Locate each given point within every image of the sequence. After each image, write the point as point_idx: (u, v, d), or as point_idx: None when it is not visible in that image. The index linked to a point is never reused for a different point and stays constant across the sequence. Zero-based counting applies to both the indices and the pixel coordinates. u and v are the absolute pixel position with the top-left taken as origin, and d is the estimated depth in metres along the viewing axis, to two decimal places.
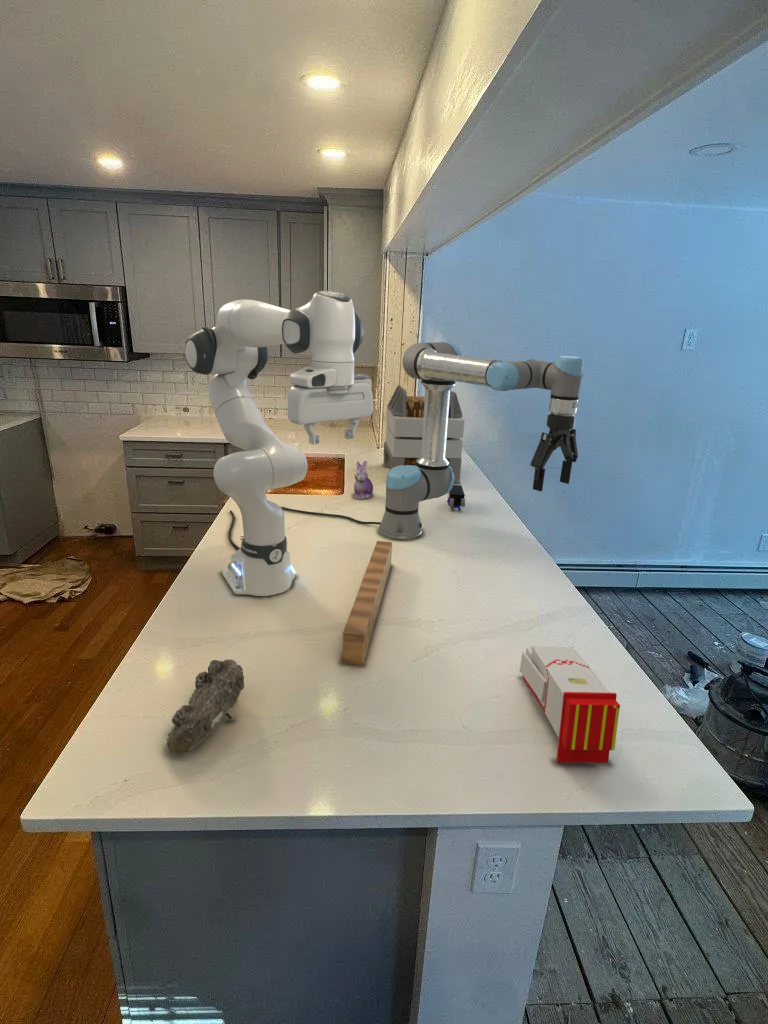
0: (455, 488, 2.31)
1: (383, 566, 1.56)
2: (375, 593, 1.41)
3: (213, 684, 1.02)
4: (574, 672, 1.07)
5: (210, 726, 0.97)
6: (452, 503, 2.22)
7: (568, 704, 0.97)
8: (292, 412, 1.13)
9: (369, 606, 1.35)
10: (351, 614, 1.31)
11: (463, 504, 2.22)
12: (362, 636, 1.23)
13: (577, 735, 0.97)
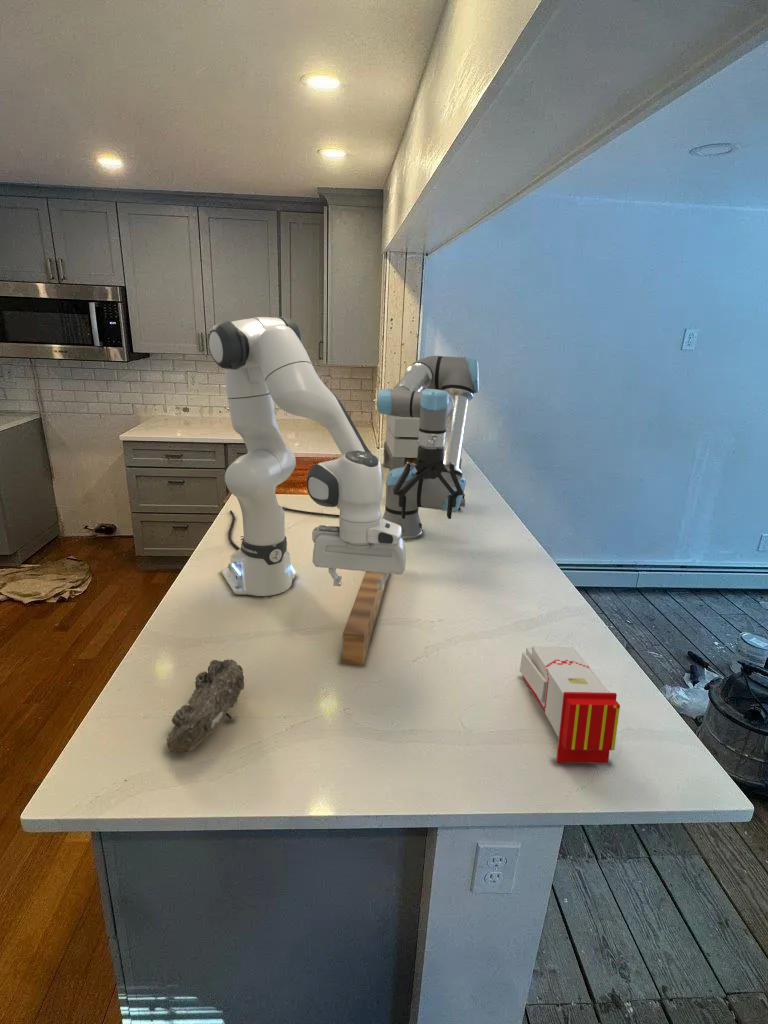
0: None
1: None
2: (375, 593, 1.41)
3: (213, 684, 1.02)
4: (574, 672, 1.07)
5: (210, 726, 0.97)
6: None
7: (568, 704, 0.97)
8: (405, 561, 1.21)
9: (369, 606, 1.35)
10: (351, 614, 1.31)
11: (463, 504, 2.22)
12: (362, 636, 1.23)
13: (577, 735, 0.97)
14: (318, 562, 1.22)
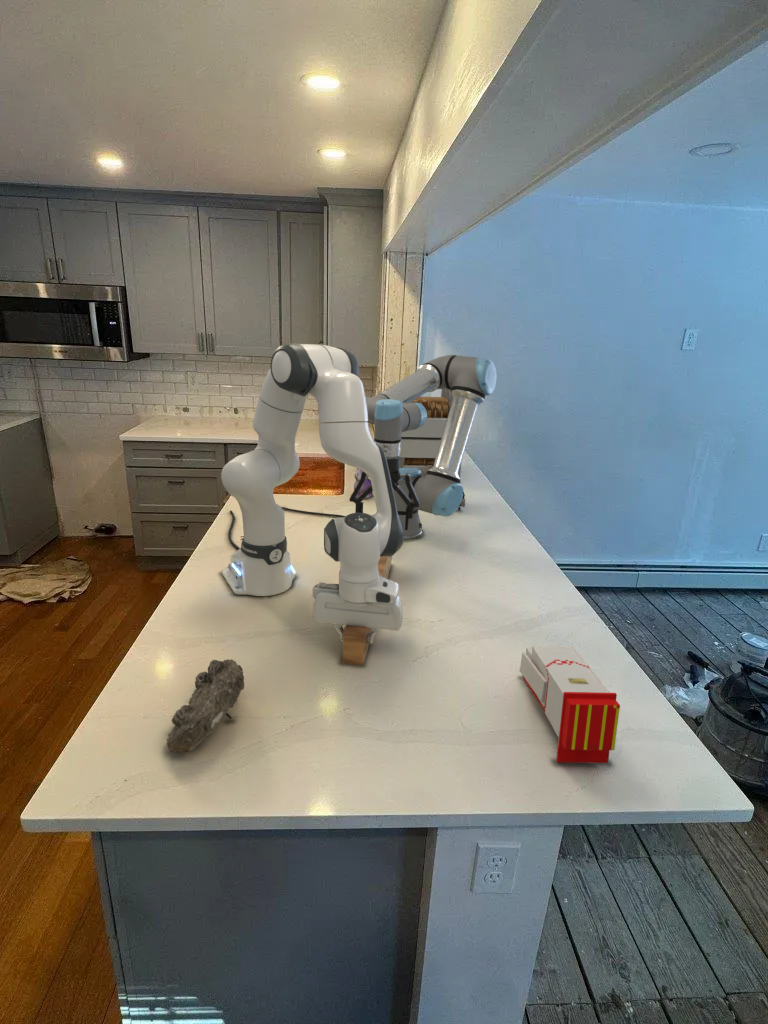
0: None
1: (383, 566, 1.56)
2: None
3: (213, 684, 1.02)
4: (574, 672, 1.07)
5: (210, 726, 0.97)
6: None
7: (568, 704, 0.97)
8: (402, 618, 1.26)
9: None
10: None
11: (463, 504, 2.22)
12: (362, 636, 1.23)
13: (577, 735, 0.97)
14: (318, 618, 1.27)
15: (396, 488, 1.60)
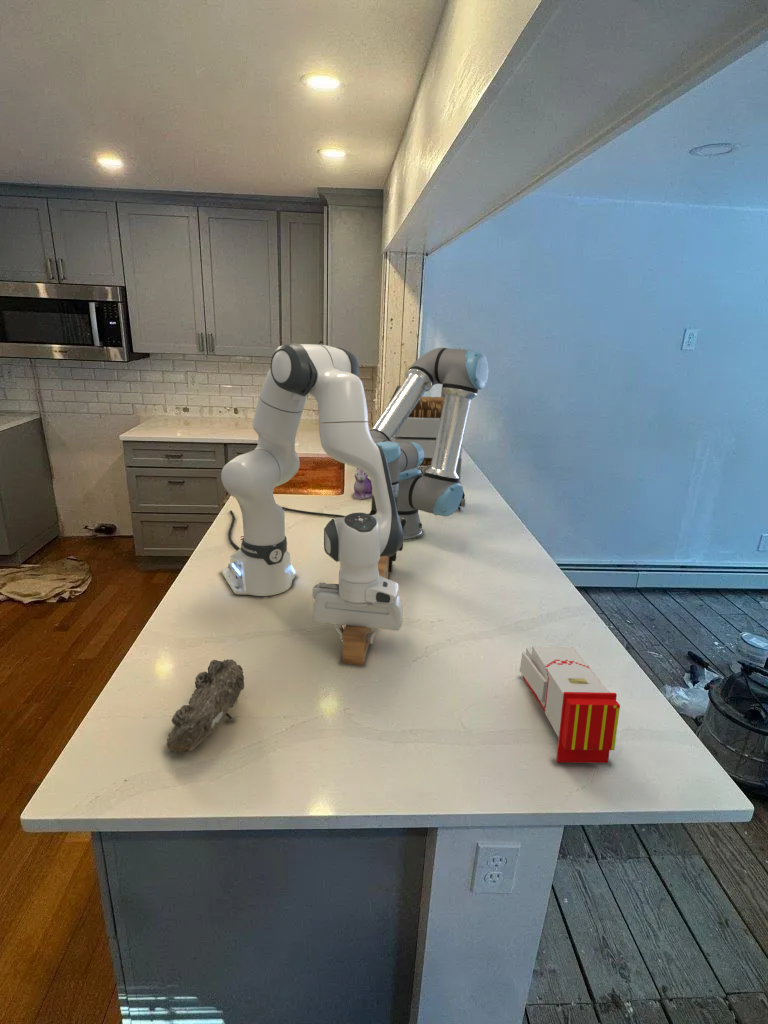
0: None
1: (383, 566, 1.56)
2: None
3: (213, 684, 1.02)
4: (574, 672, 1.07)
5: (210, 726, 0.97)
6: None
7: (568, 704, 0.97)
8: (402, 618, 1.26)
9: None
10: None
11: (463, 504, 2.22)
12: (362, 636, 1.23)
13: (577, 735, 0.97)
14: (318, 618, 1.27)
15: None
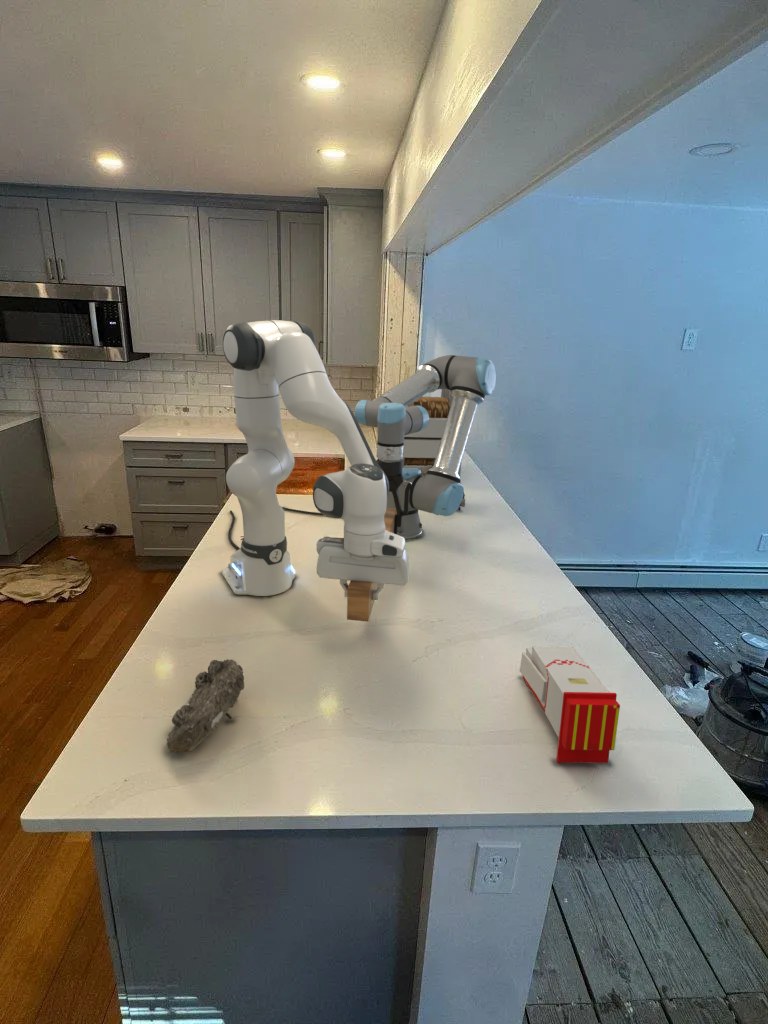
0: None
1: (388, 529, 1.53)
2: None
3: (213, 684, 1.02)
4: (574, 672, 1.07)
5: (210, 726, 0.97)
6: None
7: (568, 704, 0.97)
8: (408, 573, 1.23)
9: None
10: None
11: (463, 504, 2.22)
12: (367, 591, 1.20)
13: (577, 735, 0.97)
14: (322, 573, 1.23)
15: (394, 493, 1.61)
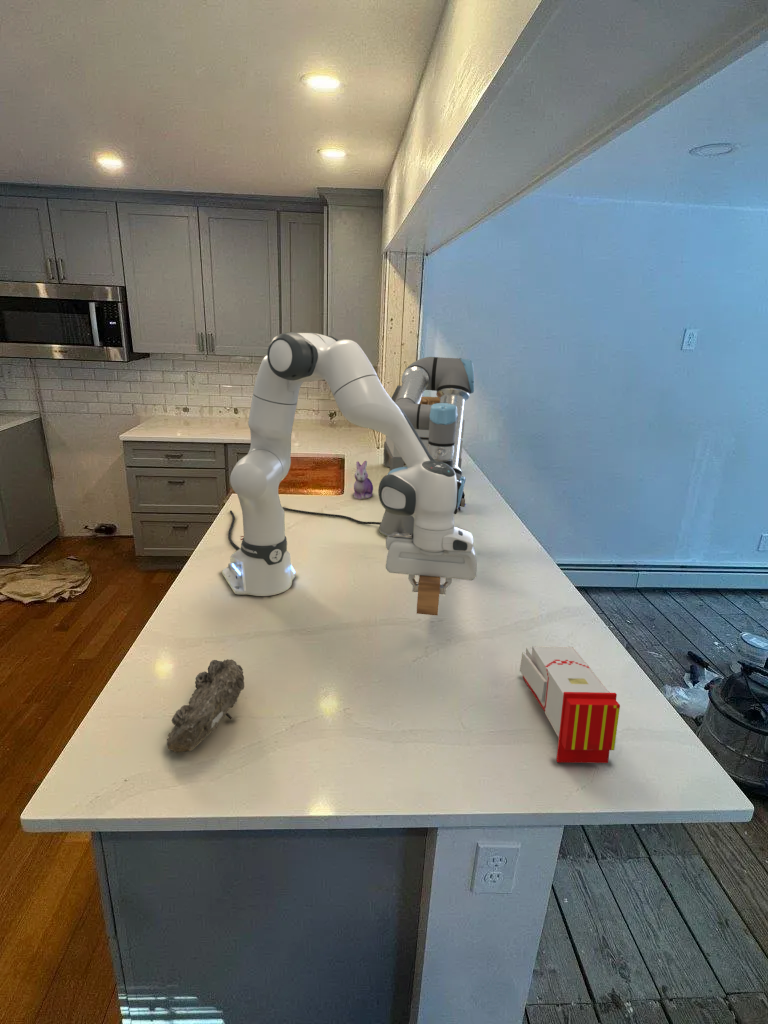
0: None
1: None
2: None
3: (213, 684, 1.02)
4: (574, 672, 1.07)
5: (210, 726, 0.97)
6: None
7: (568, 704, 0.97)
8: None
9: None
10: None
11: (463, 504, 2.22)
12: (438, 585, 1.22)
13: (577, 735, 0.97)
14: (391, 568, 1.26)
15: None
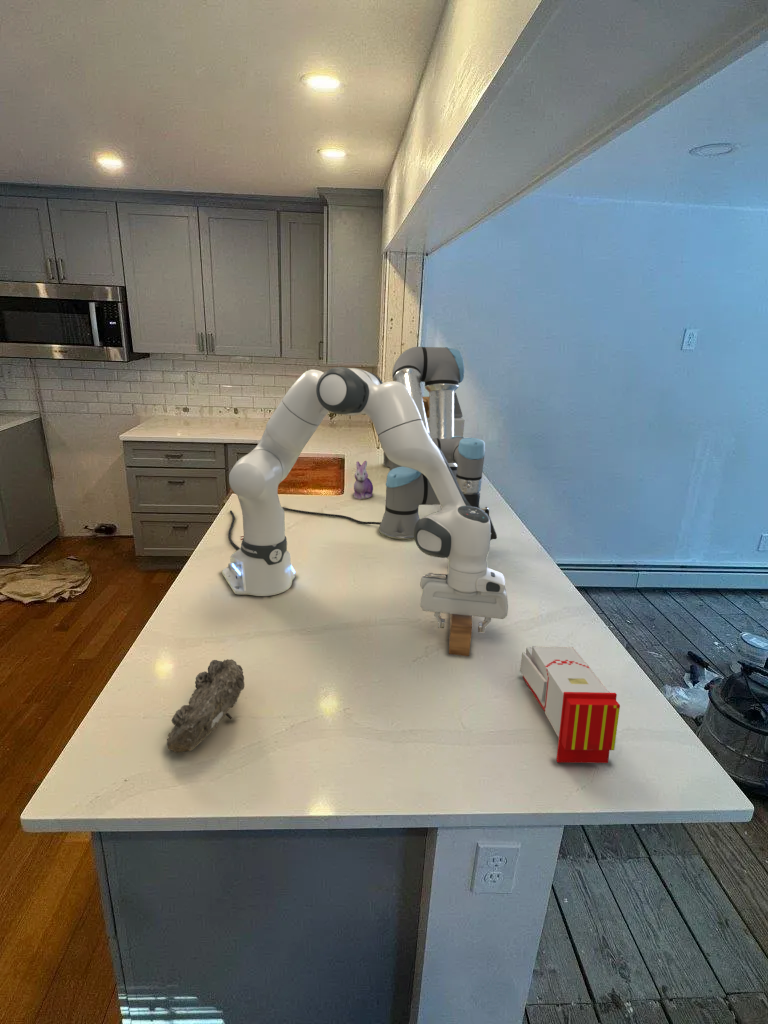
0: None
1: None
2: None
3: (213, 684, 1.02)
4: (574, 672, 1.07)
5: (210, 726, 0.97)
6: None
7: (568, 704, 0.97)
8: None
9: None
10: None
11: None
12: (470, 628, 1.28)
13: (577, 735, 0.97)
14: (425, 607, 1.32)
15: None
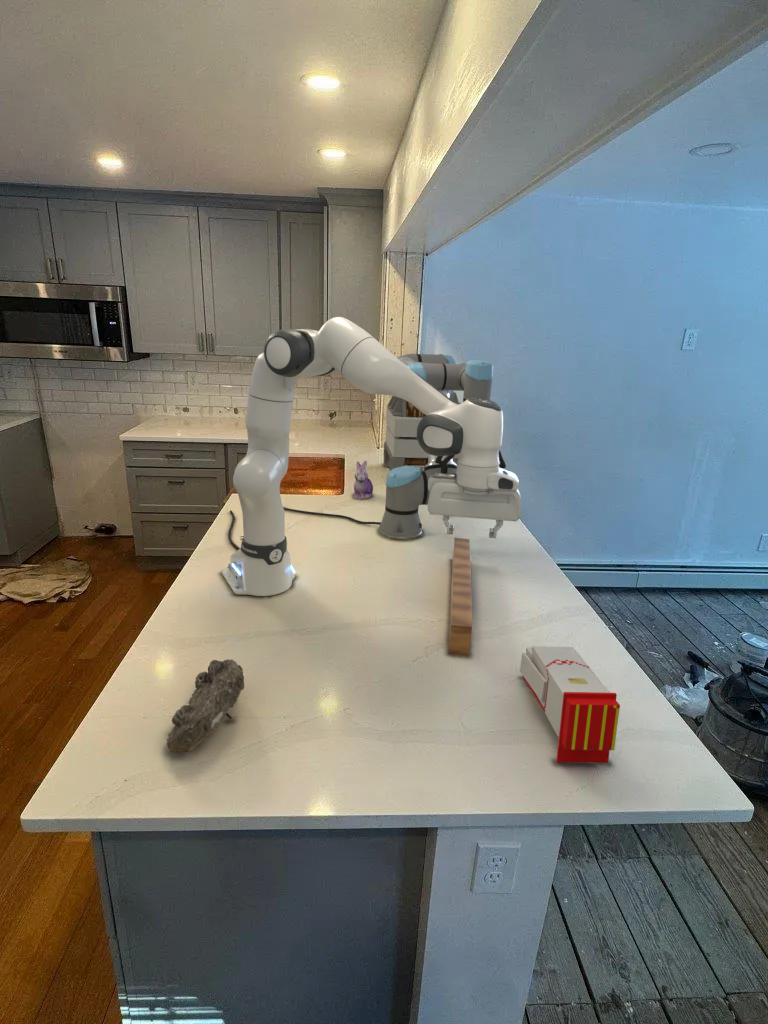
0: None
1: (469, 562, 1.61)
2: (469, 587, 1.46)
3: (213, 684, 1.02)
4: (574, 672, 1.07)
5: (210, 726, 0.97)
6: None
7: (568, 704, 0.97)
8: None
9: (468, 600, 1.40)
10: (453, 607, 1.36)
11: None
12: (470, 628, 1.28)
13: (577, 735, 0.97)
14: (433, 510, 1.23)
15: None
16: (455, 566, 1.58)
